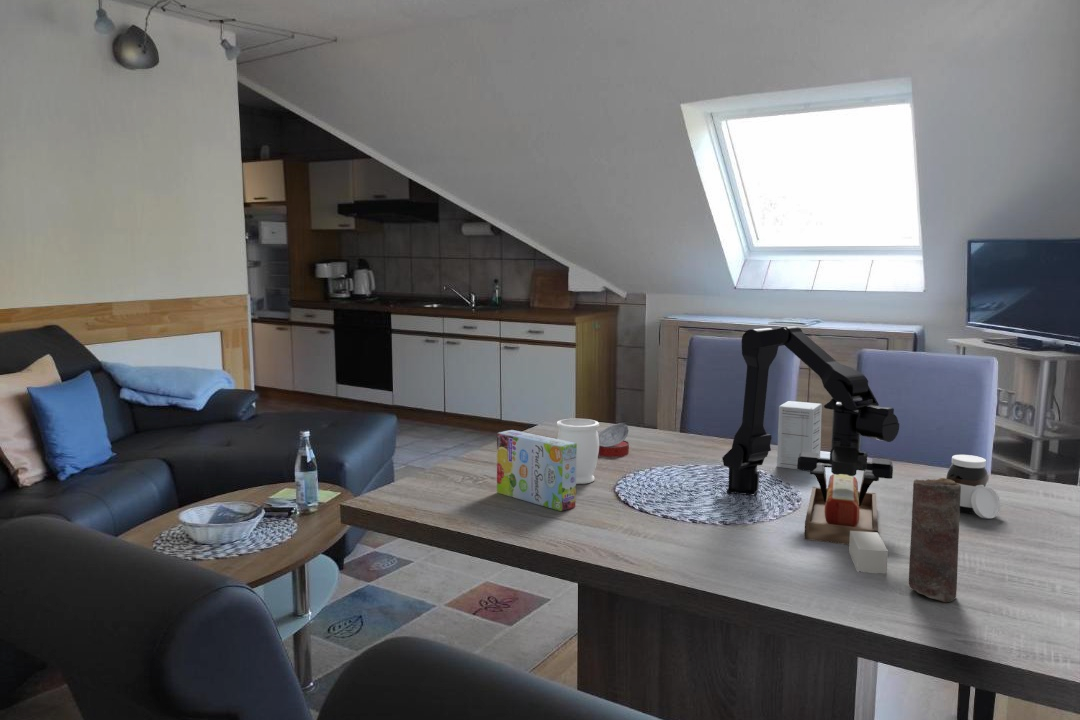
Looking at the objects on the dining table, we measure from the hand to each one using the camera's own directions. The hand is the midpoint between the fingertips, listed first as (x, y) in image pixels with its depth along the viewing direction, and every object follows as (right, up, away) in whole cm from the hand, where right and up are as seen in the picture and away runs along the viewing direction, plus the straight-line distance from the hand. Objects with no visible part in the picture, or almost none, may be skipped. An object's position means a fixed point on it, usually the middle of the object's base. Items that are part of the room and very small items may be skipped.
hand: (842, 503), depth 174 cm
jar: (-55, 0, +33) cm, 64 cm away
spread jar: (+32, -3, +8) cm, 33 cm away
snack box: (-66, -2, +17) cm, 68 cm away
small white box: (-3, -7, -21) cm, 23 cm away
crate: (0, -4, +1) cm, 4 cm away
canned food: (-44, +4, +60) cm, 75 cm away
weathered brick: (+2, -9, -35) cm, 37 cm away
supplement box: (+5, +2, +46) cm, 47 cm away
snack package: (0, -2, 0) cm, 2 cm away
